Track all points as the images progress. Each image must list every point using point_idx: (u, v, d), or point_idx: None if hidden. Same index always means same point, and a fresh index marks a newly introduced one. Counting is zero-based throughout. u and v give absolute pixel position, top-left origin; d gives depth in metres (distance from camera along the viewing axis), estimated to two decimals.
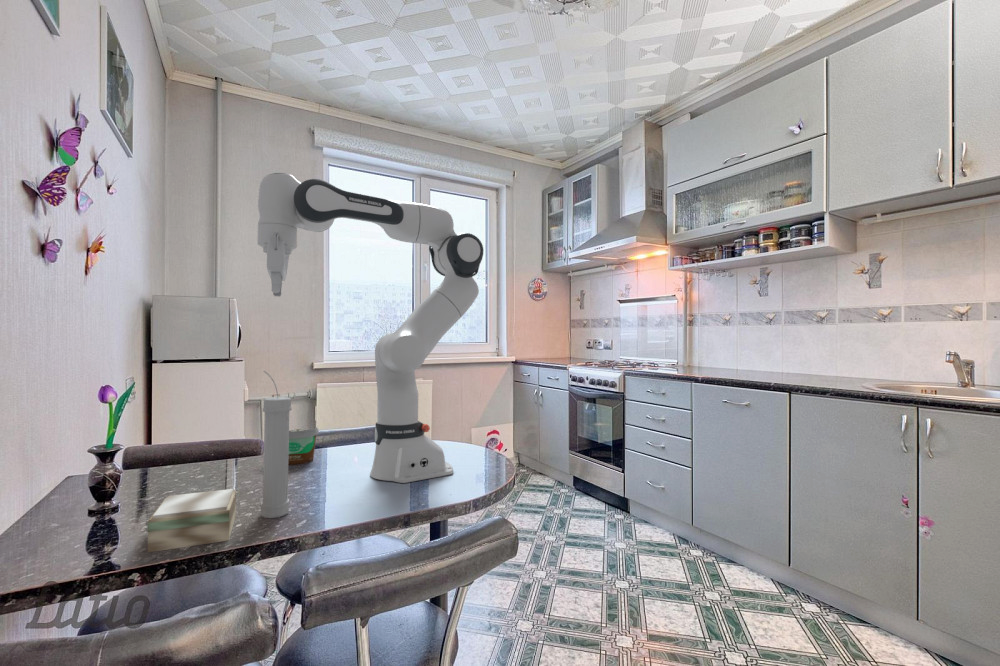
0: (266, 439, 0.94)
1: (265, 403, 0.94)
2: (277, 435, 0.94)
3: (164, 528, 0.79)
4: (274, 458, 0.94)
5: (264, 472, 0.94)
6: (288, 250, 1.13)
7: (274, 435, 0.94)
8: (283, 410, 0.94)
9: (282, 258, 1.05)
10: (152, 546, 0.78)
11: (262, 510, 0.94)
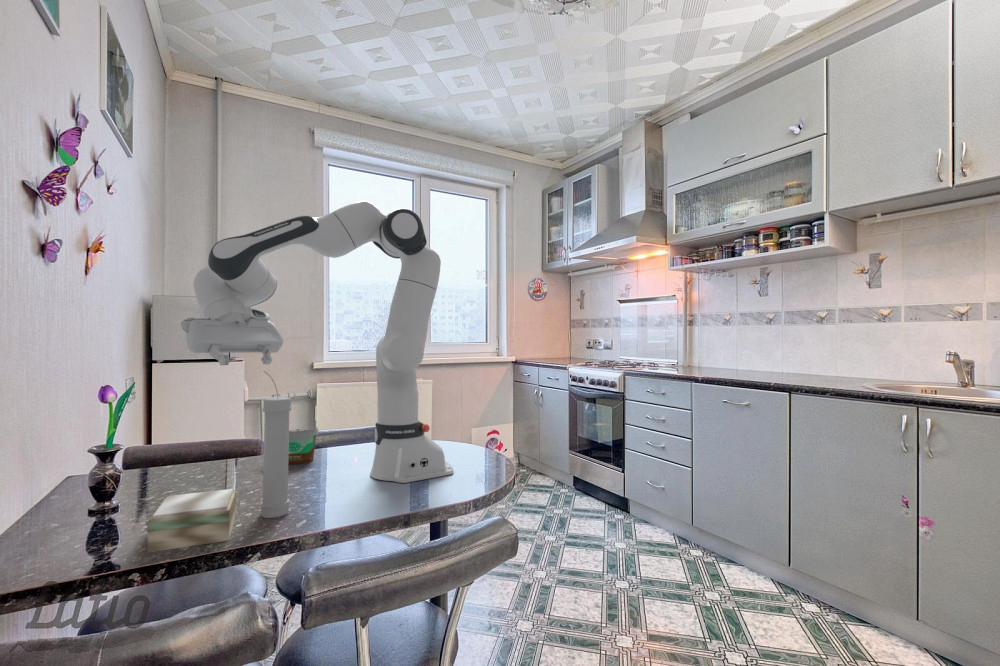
0: (266, 439, 0.94)
1: (265, 403, 0.94)
2: (277, 435, 0.94)
3: (164, 528, 0.79)
4: (274, 458, 0.94)
5: (264, 472, 0.94)
6: (228, 321, 1.06)
7: (274, 435, 0.94)
8: (283, 410, 0.94)
9: (191, 333, 0.98)
10: (152, 546, 0.78)
11: (262, 510, 0.94)
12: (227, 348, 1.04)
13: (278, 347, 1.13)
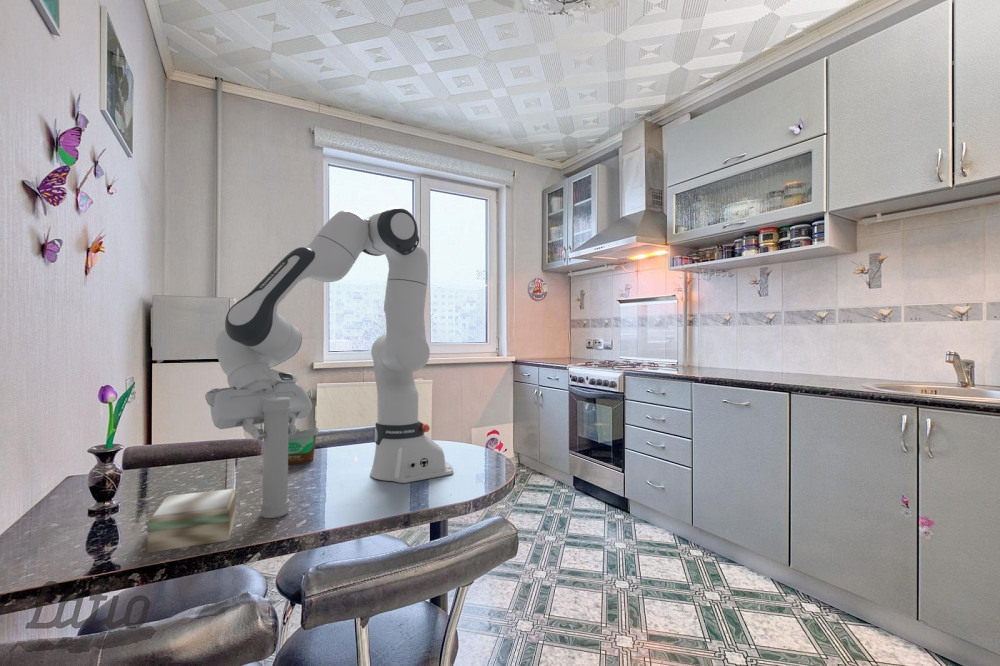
0: (265, 439, 0.94)
1: (264, 403, 0.94)
2: (276, 435, 0.94)
3: (164, 528, 0.79)
4: (274, 458, 0.94)
5: (264, 472, 0.94)
6: (254, 389, 0.98)
7: (274, 435, 0.94)
8: (282, 410, 0.94)
9: (217, 409, 0.90)
10: (152, 546, 0.78)
11: (262, 510, 0.94)
12: (254, 420, 0.96)
13: (307, 413, 1.05)
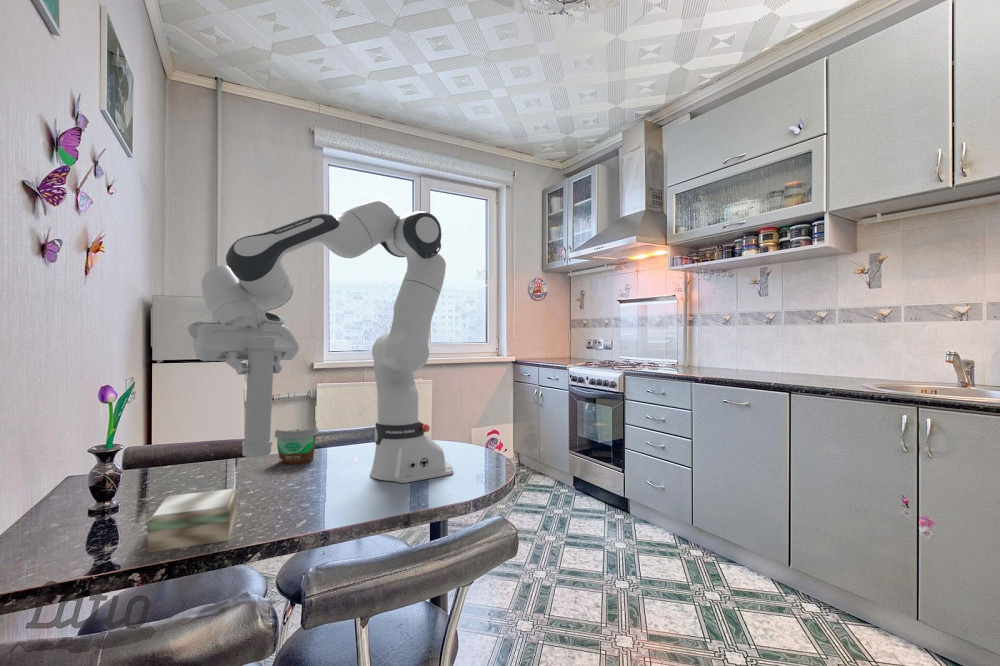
0: (249, 376, 0.92)
1: (249, 339, 0.92)
2: (260, 372, 0.92)
3: (164, 528, 0.79)
4: (257, 396, 0.92)
5: (246, 410, 0.92)
6: (239, 325, 0.96)
7: (257, 372, 0.92)
8: (267, 347, 0.92)
9: (199, 339, 0.88)
10: (152, 546, 0.78)
11: (243, 449, 0.92)
12: (238, 355, 0.94)
13: (293, 354, 1.03)
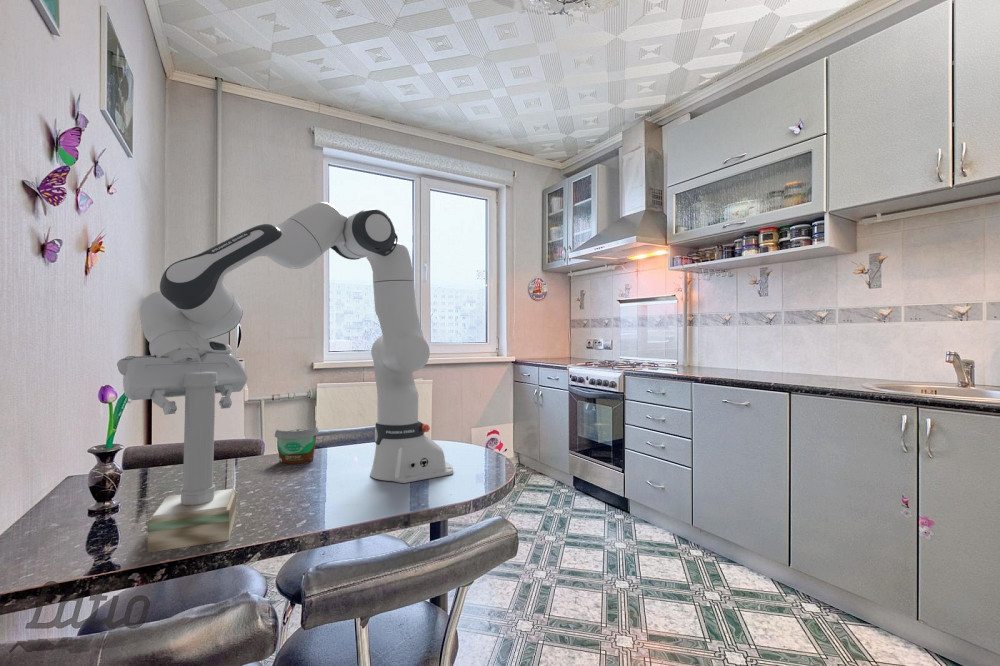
0: (186, 417, 0.84)
1: (185, 377, 0.84)
2: (199, 413, 0.84)
3: (164, 528, 0.79)
4: (195, 439, 0.84)
5: (184, 454, 0.84)
6: (177, 357, 0.88)
7: (195, 413, 0.84)
8: (206, 385, 0.85)
9: (128, 377, 0.80)
10: (152, 546, 0.78)
11: (181, 497, 0.84)
12: (176, 391, 0.87)
13: (241, 386, 0.95)
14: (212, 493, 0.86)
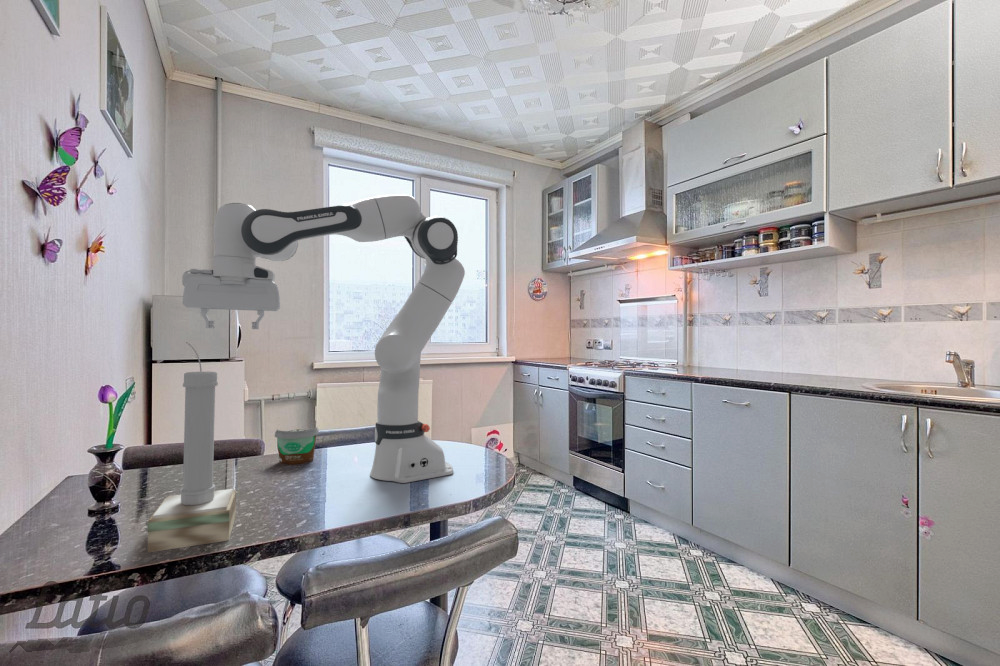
0: (186, 417, 0.84)
1: (185, 377, 0.84)
2: (199, 413, 0.84)
3: (164, 528, 0.79)
4: (195, 439, 0.84)
5: (184, 454, 0.84)
6: (224, 281, 1.07)
7: (195, 413, 0.84)
8: (206, 385, 0.85)
9: (183, 295, 1.04)
10: (152, 546, 0.78)
11: (181, 497, 0.84)
12: None
13: None
14: (212, 493, 0.86)
